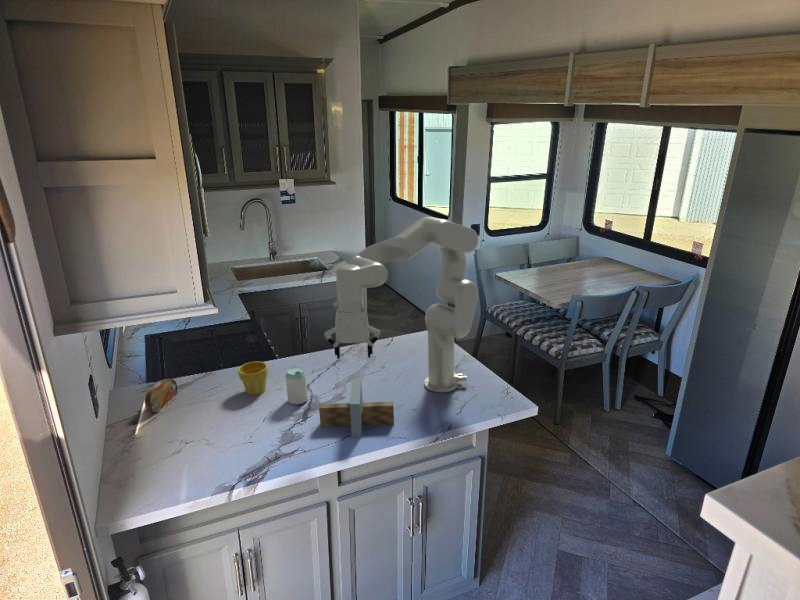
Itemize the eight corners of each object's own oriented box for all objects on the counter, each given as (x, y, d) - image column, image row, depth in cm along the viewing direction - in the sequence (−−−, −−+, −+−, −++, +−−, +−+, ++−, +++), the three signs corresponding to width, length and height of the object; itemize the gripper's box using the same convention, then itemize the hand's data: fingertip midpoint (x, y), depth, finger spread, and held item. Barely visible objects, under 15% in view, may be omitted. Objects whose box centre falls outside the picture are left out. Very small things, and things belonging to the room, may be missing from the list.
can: (311, 396, 189) (308, 367, 185) (303, 406, 183) (299, 376, 179) (293, 394, 191) (290, 365, 187) (284, 404, 185) (281, 374, 181)
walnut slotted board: (393, 420, 174) (393, 401, 171) (394, 424, 171) (393, 405, 169) (321, 422, 173) (319, 404, 171) (320, 426, 171) (319, 408, 168)
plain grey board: (361, 437, 165) (359, 403, 161) (351, 437, 165) (349, 404, 161) (363, 410, 180) (361, 379, 176) (354, 410, 180) (352, 379, 176)
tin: (153, 417, 179) (149, 395, 176) (145, 416, 180) (140, 394, 177) (179, 395, 193) (175, 374, 190) (172, 394, 193) (168, 374, 191)
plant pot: (236, 396, 191) (232, 372, 187) (250, 383, 200) (247, 359, 197) (261, 399, 188) (258, 375, 185) (274, 385, 198) (272, 362, 194)
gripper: (320, 311, 155) (325, 363, 161) (379, 309, 155) (381, 360, 161) (323, 302, 162) (327, 352, 168) (379, 300, 162) (381, 350, 168)
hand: (354, 356), depth 164 cm, fingers open, 9 cm apart
